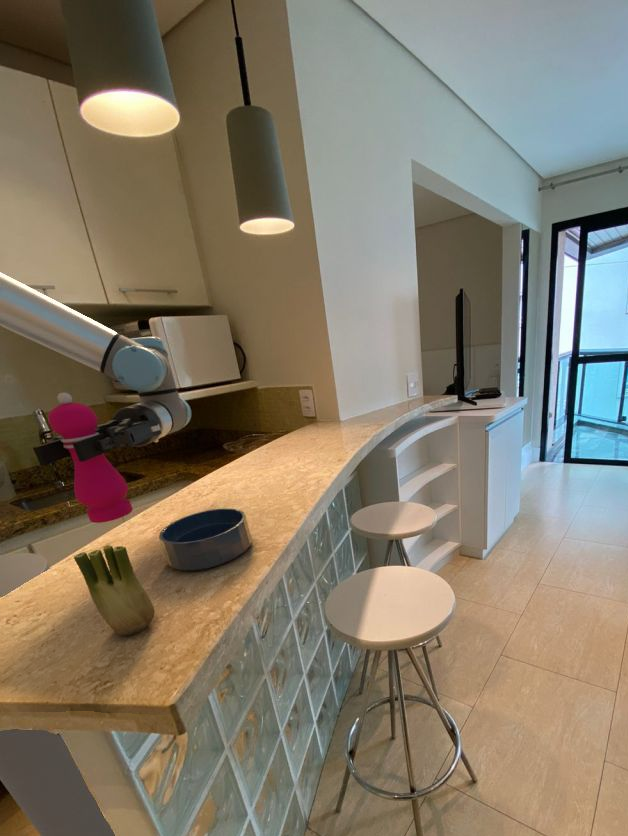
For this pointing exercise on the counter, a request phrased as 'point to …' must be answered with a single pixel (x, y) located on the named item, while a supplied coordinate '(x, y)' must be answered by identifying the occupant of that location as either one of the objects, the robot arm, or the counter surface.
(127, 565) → the fennel bulb
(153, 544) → the counter surface
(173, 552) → the bowl
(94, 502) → the pepper mill
